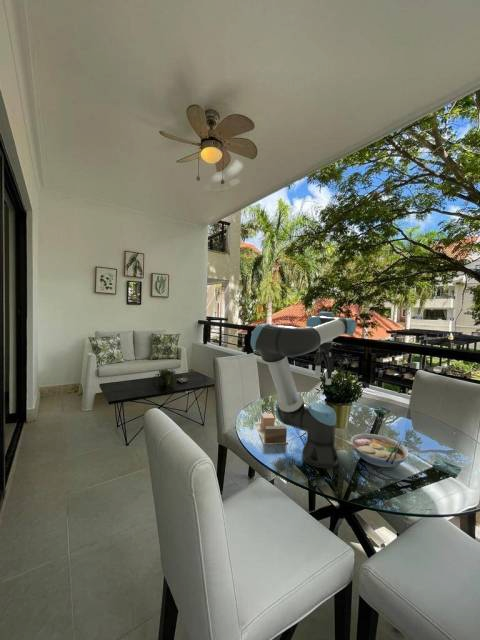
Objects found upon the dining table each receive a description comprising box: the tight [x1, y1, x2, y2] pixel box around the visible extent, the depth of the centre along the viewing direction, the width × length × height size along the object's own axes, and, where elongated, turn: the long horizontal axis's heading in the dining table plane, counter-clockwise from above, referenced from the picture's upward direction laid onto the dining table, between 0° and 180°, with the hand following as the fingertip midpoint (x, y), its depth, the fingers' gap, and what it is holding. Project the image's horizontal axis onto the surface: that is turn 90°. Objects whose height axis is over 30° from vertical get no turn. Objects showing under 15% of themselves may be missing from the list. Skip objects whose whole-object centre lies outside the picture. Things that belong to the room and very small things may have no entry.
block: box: [260, 412, 276, 429], centre depth 157 cm, size 6×6×6 cm
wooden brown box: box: [254, 421, 289, 445], centre depth 151 cm, size 24×12×8 cm, turn 8°
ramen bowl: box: [350, 433, 410, 468], centre depth 126 cm, size 25×23×8 cm
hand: (322, 380), depth 155 cm, fingers open, 13 cm apart
